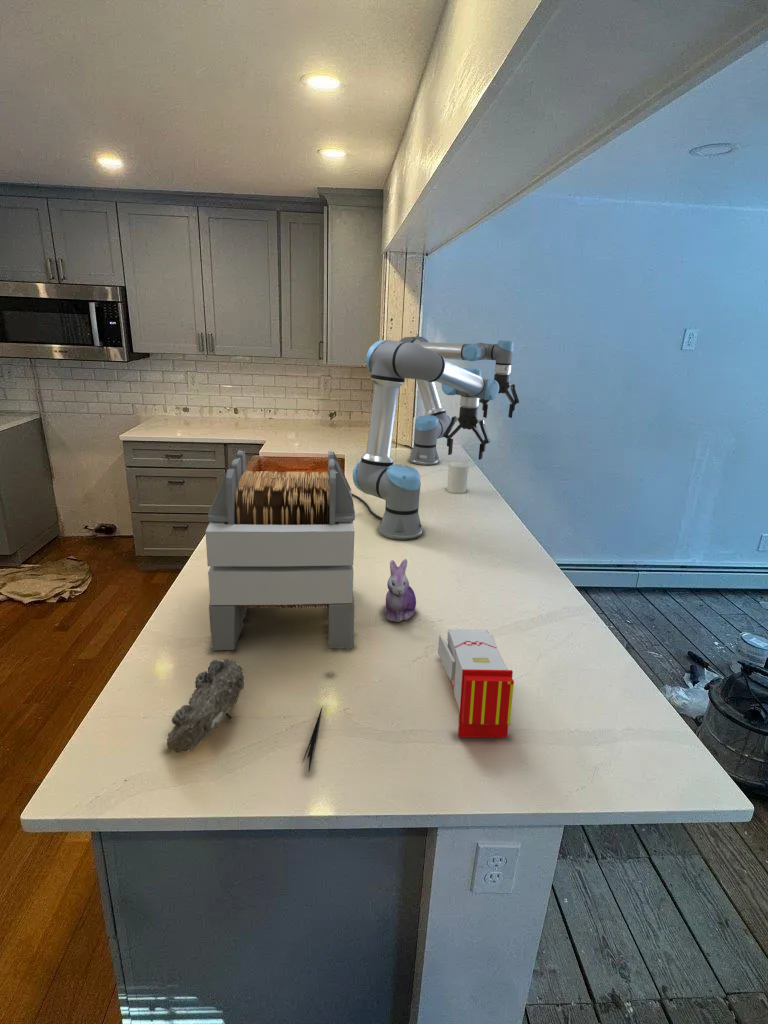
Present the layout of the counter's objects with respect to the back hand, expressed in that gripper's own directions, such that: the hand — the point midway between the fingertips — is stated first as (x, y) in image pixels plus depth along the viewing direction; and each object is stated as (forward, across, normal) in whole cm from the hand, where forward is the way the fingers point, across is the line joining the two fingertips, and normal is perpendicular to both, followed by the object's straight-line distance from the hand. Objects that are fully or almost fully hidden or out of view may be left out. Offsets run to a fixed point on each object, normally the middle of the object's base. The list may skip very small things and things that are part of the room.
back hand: (497, 417), depth 282 cm
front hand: (+9, -32, -40) cm, 52 cm away
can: (+26, -32, -35) cm, 54 cm away
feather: (+26, -110, -172) cm, 205 cm away
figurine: (+26, -85, -136) cm, 162 cm away
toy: (+26, -78, -169) cm, 188 cm away
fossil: (+26, -130, -167) cm, 213 cm away
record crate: (+26, -113, -131) cm, 175 cm away
